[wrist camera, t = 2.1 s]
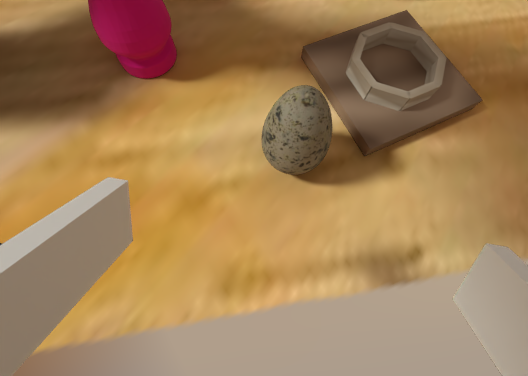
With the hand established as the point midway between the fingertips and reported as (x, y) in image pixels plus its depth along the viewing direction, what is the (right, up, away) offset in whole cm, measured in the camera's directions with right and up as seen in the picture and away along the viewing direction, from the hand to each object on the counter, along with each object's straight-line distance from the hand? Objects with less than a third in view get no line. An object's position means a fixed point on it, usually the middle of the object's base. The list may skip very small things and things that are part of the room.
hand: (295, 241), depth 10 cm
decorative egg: (+1, +5, +18) cm, 19 cm away
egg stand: (+12, +14, +21) cm, 28 cm away
